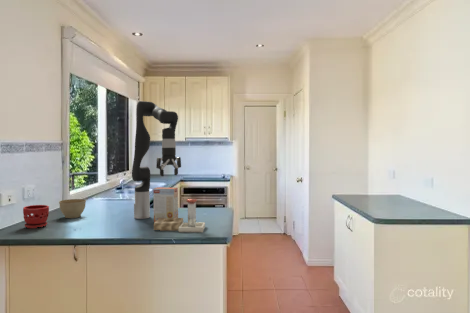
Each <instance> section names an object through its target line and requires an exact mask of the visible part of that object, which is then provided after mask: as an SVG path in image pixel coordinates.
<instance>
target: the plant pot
mask: <svg viewBox="0 0 470 313" xmlns="http://www.w3.org/2000/svg"><path fill="white" fill-rule="evenodd" d="M22 213H23V219H24V222H25V223H24V227H25V228H26V227H27V229H38V228H37V227H41V228H44V227H46V226H47V225H48V222H47V221H48V218H49V214H50V206H49V205H48V204H47V205H46V204H33V205H27V206H26V205H25V206H24V207H23V209H22ZM43 226H44V227H43Z"/></svg>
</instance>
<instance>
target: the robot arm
mask: <svg viewBox="0 0 470 313" xmlns="http://www.w3.org/2000/svg"><path fill="white" fill-rule="evenodd" d="M135 113H136V114H135V115H136V126H135V127H136V128H135V136H134V139H135V140H134V154H133V156H134V157H133V160H132V161H133V162H132V168H131V178H132V181H134V182H141V183H140V184H138V185H137V186H135V187H134V203H133V218H134V219H138V220H142V219H143V220H144V219H149V218H150V216H151V212H150V210H151V209H150V207H151V206H150V205H151V204H150V199H151V198H150V187H151V170H150V168H149V167H148V166H141V164H142V160H143V159H144V157H145V156H146V155H147V153H148V151H149V150H150V148H151V147H150V146H151V136H150V133H149V131H148V130H147V128H146V125H145V122H144V121H145V120H144V117H153V118H154V119H156V120H158V122H159V123H160V124H165V125H169V126H168V127H165V128H163V129H162V130H161V131H162V132H161V133H162V134H161V135H162V136H161V138H162V139H161V155H162V157H156V166H155V167H156V169H158V170H159V175H160V177H164V175H165V173H164V171H165V170H164V169H165V168H166V166H172V167H173V168H174V169H173V172H174V173H173V176H178V174H179V168H182V162H181V161H182V159H181V156H177V157H176V154H177V153H176V149H177V146H176V144H177V143H176V128H177V125H178V122H179V115H178V113H177V112H176V111H171V110H170V111H168V110H167V109H164V108H163V107H162V108H161V107H159V106H158V105H157V104H156V103H154V102H152V101H146V100H145V101H144V100H139V101H138V102H137V105H136V112H135ZM161 162H162V163H161Z"/></svg>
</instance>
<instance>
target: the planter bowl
mask: <svg viewBox="0 0 470 313" xmlns="http://www.w3.org/2000/svg"><path fill="white" fill-rule="evenodd" d="M58 203H59V209H60V211H61V213H62V215H63V216H64V218H65V219H76V218H80V217H81V216H82V214H83V212H84V210H85V208H86V203H87V200H86V199H84V198H83V199H82V198H81V199H80V198H73V199H71V198H70V199H63V200H59V201H58Z"/></svg>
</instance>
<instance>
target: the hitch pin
mask: <svg viewBox="0 0 470 313" xmlns="http://www.w3.org/2000/svg"><path fill="white" fill-rule="evenodd" d="M197 201H198V199H197V198H188V199H186V202H187V223H188V227H196V223H197V211H196V210H197V209H196V208H197Z"/></svg>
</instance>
